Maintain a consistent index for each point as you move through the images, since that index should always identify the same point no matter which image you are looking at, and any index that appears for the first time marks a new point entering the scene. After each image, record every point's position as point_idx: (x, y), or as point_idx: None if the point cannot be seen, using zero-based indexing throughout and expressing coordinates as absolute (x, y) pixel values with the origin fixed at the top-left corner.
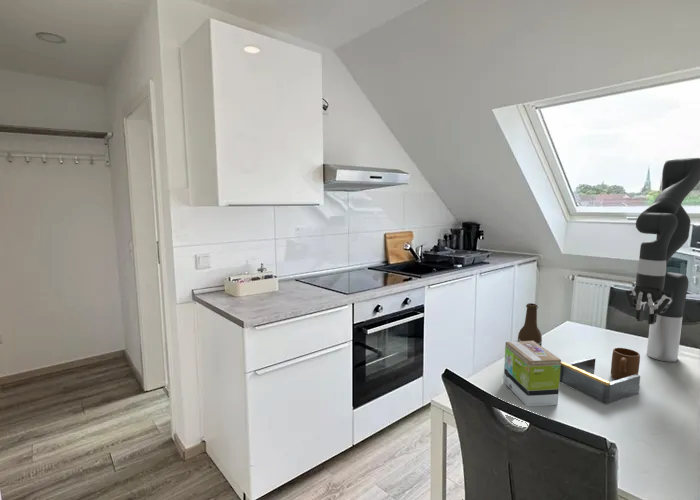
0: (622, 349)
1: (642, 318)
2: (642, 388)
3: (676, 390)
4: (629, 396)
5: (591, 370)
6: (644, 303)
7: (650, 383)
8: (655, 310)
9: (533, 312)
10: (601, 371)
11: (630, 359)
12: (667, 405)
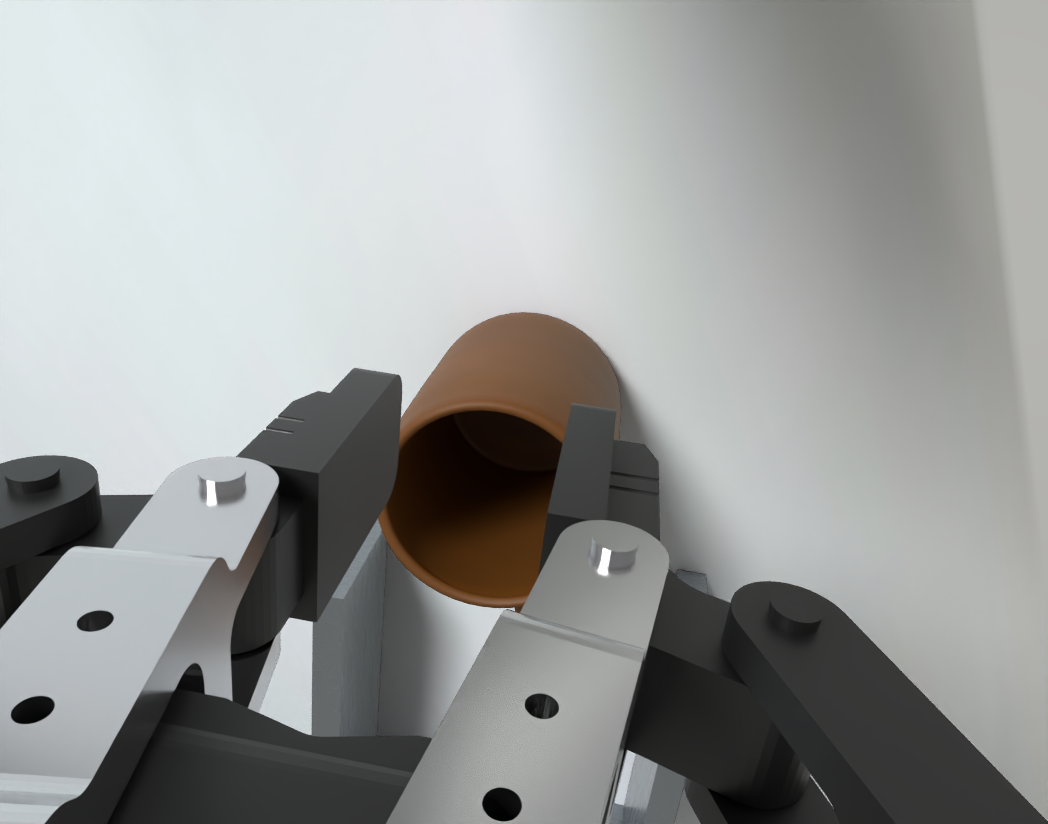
0: (416, 429)
1: (385, 419)
2: (690, 464)
3: (876, 279)
4: None
5: (374, 570)
6: (221, 638)
7: (694, 319)
8: (649, 744)
9: None
10: None
11: None
12: (887, 589)
